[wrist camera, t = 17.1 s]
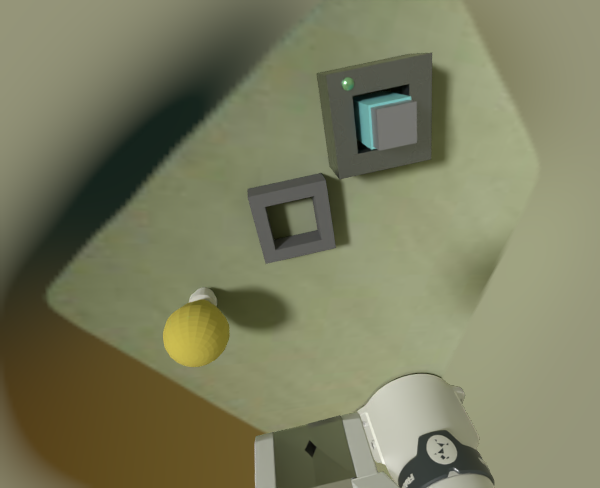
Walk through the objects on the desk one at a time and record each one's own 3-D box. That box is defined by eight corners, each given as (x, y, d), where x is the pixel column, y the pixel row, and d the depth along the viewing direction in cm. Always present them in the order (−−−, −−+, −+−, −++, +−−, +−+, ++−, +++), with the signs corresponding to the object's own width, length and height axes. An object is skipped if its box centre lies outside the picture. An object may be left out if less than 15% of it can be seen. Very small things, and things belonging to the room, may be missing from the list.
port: (411, 148, 36) (432, 159, 32) (329, 166, 36) (339, 179, 32) (409, 53, 32) (433, 52, 28) (316, 73, 32) (326, 75, 28)
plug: (385, 128, 35) (419, 144, 28) (351, 135, 35) (377, 153, 28) (383, 90, 33) (419, 98, 26) (347, 98, 33) (374, 107, 26)
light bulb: (173, 314, 42) (154, 379, 34) (177, 268, 40) (157, 327, 31) (228, 319, 44) (223, 383, 35) (236, 276, 41) (232, 334, 32)
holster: (331, 237, 40) (335, 248, 38) (264, 252, 40) (265, 263, 38) (321, 173, 36) (325, 180, 34) (247, 189, 36) (247, 197, 34)
